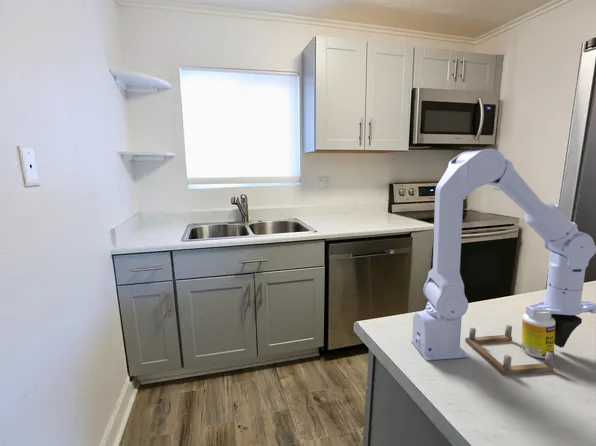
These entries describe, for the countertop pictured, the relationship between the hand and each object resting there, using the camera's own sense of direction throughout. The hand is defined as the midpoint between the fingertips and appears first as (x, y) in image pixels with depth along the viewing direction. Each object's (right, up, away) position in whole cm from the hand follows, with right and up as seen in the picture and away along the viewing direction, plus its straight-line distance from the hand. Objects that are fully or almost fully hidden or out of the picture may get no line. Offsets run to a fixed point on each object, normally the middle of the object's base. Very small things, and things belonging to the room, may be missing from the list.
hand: (557, 344), depth 67 cm
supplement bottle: (-4, -2, 0) cm, 5 cm away
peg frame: (-11, -2, 0) cm, 12 cm away
